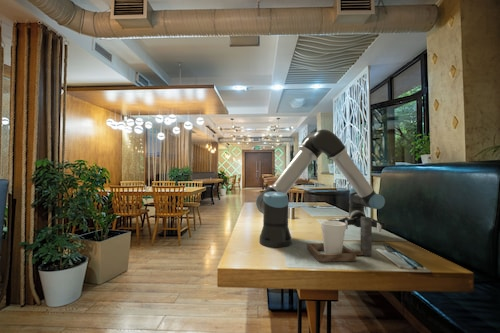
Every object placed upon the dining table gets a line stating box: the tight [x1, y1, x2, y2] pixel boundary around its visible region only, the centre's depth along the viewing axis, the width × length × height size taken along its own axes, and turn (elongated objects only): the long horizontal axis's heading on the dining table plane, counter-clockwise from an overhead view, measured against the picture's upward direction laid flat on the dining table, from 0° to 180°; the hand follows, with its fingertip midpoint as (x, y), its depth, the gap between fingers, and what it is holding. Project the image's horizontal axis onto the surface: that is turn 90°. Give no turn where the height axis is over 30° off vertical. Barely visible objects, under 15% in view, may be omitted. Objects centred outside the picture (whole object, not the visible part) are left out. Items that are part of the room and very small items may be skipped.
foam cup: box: [320, 220, 347, 254], centre depth 99 cm, size 10×9×13 cm
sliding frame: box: [306, 216, 373, 263], centre depth 99 cm, size 24×14×15 cm, turn 94°
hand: (363, 227), depth 108 cm, fingers open, 13 cm apart
